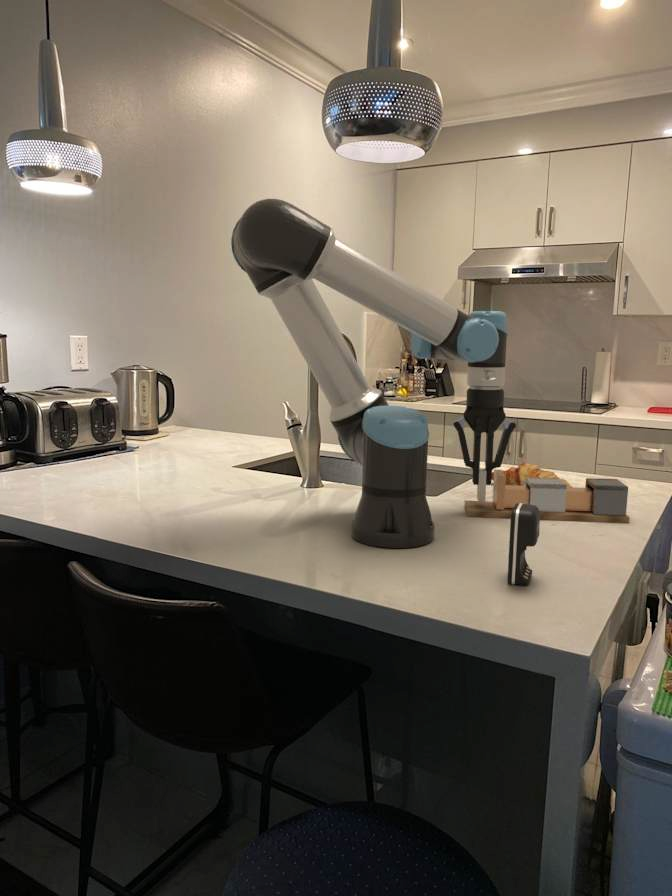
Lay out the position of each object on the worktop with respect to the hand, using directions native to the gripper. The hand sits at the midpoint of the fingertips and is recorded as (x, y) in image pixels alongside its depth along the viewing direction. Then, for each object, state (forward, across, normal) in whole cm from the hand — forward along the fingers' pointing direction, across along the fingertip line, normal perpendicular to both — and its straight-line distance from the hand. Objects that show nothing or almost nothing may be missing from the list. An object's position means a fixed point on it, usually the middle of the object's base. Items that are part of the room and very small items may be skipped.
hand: (481, 499), depth 142 cm
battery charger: (+3, +2, -40) cm, 41 cm away
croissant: (+3, +14, +23) cm, 27 cm away
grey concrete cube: (+2, +13, 0) cm, 13 cm away
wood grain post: (+1, +13, 0) cm, 13 cm away
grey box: (+2, +25, 0) cm, 25 cm away
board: (+3, +13, 0) cm, 13 cm away
